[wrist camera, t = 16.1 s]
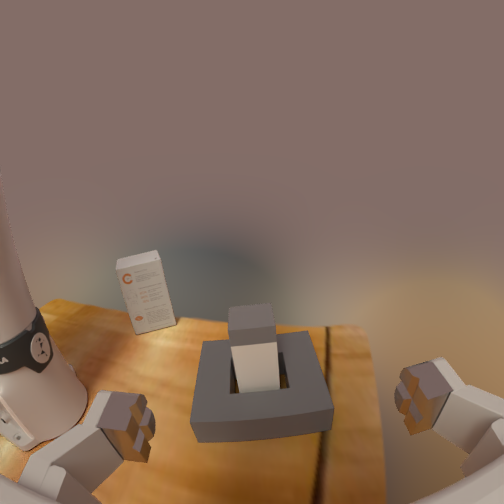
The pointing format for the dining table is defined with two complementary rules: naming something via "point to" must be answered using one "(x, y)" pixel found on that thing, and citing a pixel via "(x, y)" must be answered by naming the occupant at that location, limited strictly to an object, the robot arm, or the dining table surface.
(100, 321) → the dining table surface
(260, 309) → the plug
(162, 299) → the small box
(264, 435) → the socket block
